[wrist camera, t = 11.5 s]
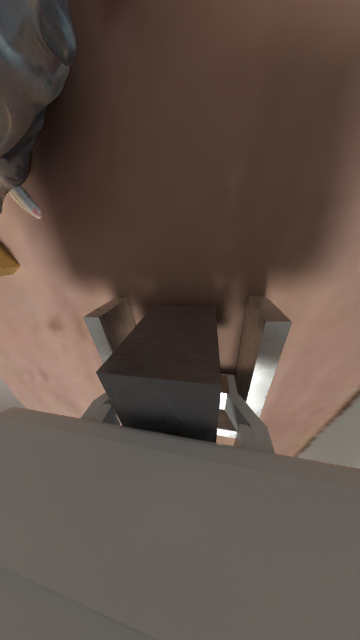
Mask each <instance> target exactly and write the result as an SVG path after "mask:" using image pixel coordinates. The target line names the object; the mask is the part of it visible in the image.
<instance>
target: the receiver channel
mask: <svg viewBox="0 0 360 640" xmlns="http://www.w3.org/2000/svg"><path fill="white" fill-rule="evenodd" d="M83 318H84V320H85V323H86V325H87V327H88V329H89V332H90V334H91V336H92V339H93V341H94V343H95V345H96V348H97V350H98V352H99V354H100V357H101V359H102V361H103V363H104V362H105V361H106V360H107V359H108V358H109V357H110V355H111V354H112V353H113V352H114V351H115V350H116V348H117V347H118V346H119V345H120V344H121V343H122V341H123V340H124V339H125V338H126V337H127V336H128V334H129V333H130V332H131V331H132V330H133V329H134V327H135V326H136V325H135V321H134V317H133V313H132V309H131V305H130V301H129V297H116V298H114V299H112V300H111V301H109V302H107V303H106V304H104V305H102V306H101V307H99V308H97V309H96V310H94V311H93V312H91V313H89V314H88V315H86V316H84V317H83ZM291 323H292V321H291V320H289V319H288V318H287V317H286V316H285V315H284V314H283V313H282V312H281V311H280V310H279V309H278V308H277V307H276V306H275V305H274V304H273V303H272V302H271V301H270V300H269V299H268V298H267V297H266V296H248V300H247V307H246V313H245V319H244V325H243V331H242V338H241V344H240V350H239V356H238V362H237V368H236V375H235V383H236V388H237V394H238V395H240V396H241V397H242V398H243V400H244V401H245V402H246V403H247V404H248V406H249V407H250V408H251V409H252V410H253V411H254V413H255V414H256V415H257V416H258V417H259V416H260V414H261V411H262V408H263V405H264V402H265V399H266V396H267V393H268V390H269V387H270V384H271V382H272V379H273V376H274V373H275V370H276V367H277V364H278V361H279V358H280V355H281V352H282V350H283V347H284V344H285V341H286V338H287V335H288V332H289V329H290V326H291ZM236 434H237V430H236V429H235V427H234V425H233V424H232V422H231V420H230V419H229V417H228V415H227V413H226V412H225V410H222V409H219V417H218V427H217V435H220V436H226V437H231V438H236Z"/></svg>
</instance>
